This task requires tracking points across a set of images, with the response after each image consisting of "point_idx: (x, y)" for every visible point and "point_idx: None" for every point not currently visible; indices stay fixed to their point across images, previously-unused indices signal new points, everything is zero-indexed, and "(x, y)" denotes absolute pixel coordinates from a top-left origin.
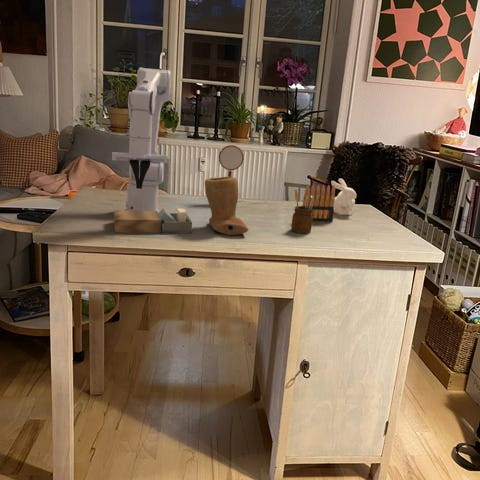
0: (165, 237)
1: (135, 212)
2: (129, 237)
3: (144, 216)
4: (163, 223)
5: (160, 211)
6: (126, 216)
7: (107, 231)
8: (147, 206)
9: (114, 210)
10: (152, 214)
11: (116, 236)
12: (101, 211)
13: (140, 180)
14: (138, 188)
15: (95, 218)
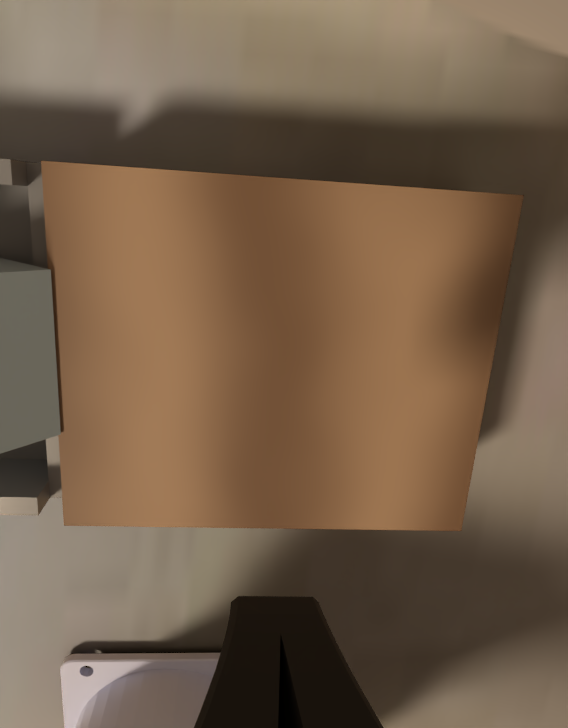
0: (46, 8)
1: (285, 460)
2: (373, 26)
3: (213, 315)
4: (33, 247)
5: (32, 437)
6: (391, 309)
7: None
8: (149, 719)
9: (462, 513)
10: (125, 396)
11: (475, 65)
12: (462, 718)
13: (268, 708)
14: (287, 600)
15: (533, 560)
